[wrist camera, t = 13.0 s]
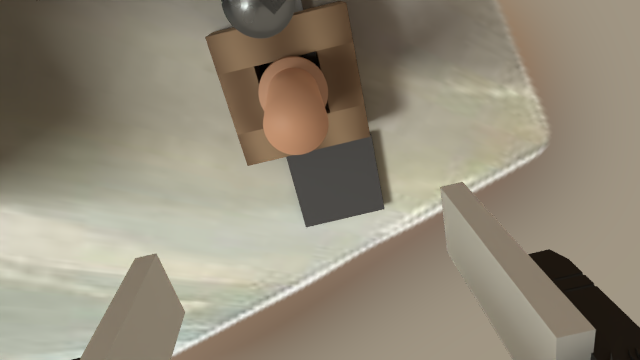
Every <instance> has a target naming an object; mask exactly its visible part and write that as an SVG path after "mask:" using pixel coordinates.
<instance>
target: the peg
mask: <svg viewBox="0 0 640 360" xmlns="http://www.w3.org/2000/svg"><path fill="white" fill-rule="evenodd" d="M258 94H259V101H260V104H261V106H262V108H263V110H264V118H263V129H264V133H265V136H266V138H267V139H268V141H269V142H270V144H271V145H272V146H273V147H275V148H276V149H277V150H279V151H281V152H283V153H286V154H290V155H302V154H306V153H309V152H311V151H313V150H314V149H316V148H317V147H318V146H319V145H320V144H321V143H322V142H323V141H324V139H325V137H326V135H327V132H328V126H329V121H328V115H327V112H326V109H325V106H326V103H327V100H328V86H327V82H326V80H325V77H324V75H323V73H322V72H321V70H320V69H319V68H318V67H317V66H316V65H315V64H314V63H313V62H311V61H310V60H308V59H306V58H303V57H299V56H287V57H283V58H280V59H278V60H276V61H274V62H273V63H272V64H270V65H269V66H268V67H267V69H266V70H265V71H264V73H263V75H262V77H261V80H260V83H259V91H258Z"/></svg>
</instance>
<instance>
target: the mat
mask: <svg viewBox="0 0 640 360" xmlns="http://www.w3.org/2000/svg"><path fill="white" fill-rule="evenodd" d="M287 161H288V165H289V168H290V172H291V175H292V179H293V182H294V186H295V189H296V193H297V196H298V200H299V204H300V207H301V211H302V214H303V218H304V221H305V225H306V227H309V226H314V225H318V224H322V223H327V222H331V221H335V220H339V219H344V218H348V217H352V216H357V215H361V214H365V213H369V212H374V211H378V210H382V209H384V204H383V199H382V193H381V187H380V182H379V176H378V171H377V165H376V159H375V154H374V148H373V142H372V137H371V134H370V137H367V138H363V139H358V140H354V141H350V142H346V143H342V144H337V145H333V146H329V147H325V148H321V149H316V150H313V151H311V152H309V153H306V154H302V155H291V156H287Z"/></svg>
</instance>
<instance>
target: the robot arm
mask: <svg viewBox="0 0 640 360" xmlns="http://www.w3.org/2000/svg"><path fill="white" fill-rule="evenodd" d="M440 189H441V198H442V208H443V217H444V226H445V235H446V245H447V253H448V254H449V256H450V257H451V259H452V261H453V262H454V264H455V265H456V267H457V269H458V271H459V272H460V274H461V276H462V277H463V278H464V280H465V282H466V284H467V285H468V287H469V289H470V290H471V292H472V294H473V295H474V297H475V298H476V300H477V302H478V303H479V305H480V307H481V308H482V310H483V312H484V313H485V315H486V317H487V318H488V320H489V321H490V323H491V325H492V326H493V328H494V330H495V331H496V333H497V335H498V336H499V338H500V340H501V341H502V343H503V345H504V346H505V348H506V350H507V351H508V352H509V354H510V356H511V358H512V359H513V360H640V327H638V326H637V325H636V324H635V323H634V322H633V321H632V320H631V319H630V318H629V317H628V316H627V315H626V314H625V313H624V312H623V311H622V310H621V309H620V308H619V307H618V306H617V305H616V304H615V303H614V302H612V301H611V300H610V299H609V298H608V297H607V296H606V295H605V294H604V293H603V292H602V291H601V290H600V289H599V288H598V287H597V286H594V283H593V282H592V281H591V280H590V279H589V278H588V277H586V275H583V274H582V272H581V271H580V270H579V269H578V268H577V267H576V266H575V265H574V264H573V263H572V262H571V261H570V260H569V259H567V258H565V257H563V256H561V255H559V254H558V253H555V252H553V251H552V250H545V251H540V252H536V253H532V254H527V253H526V252H525V251H524V250H523V248H522V247H521V246H520V245H519V244H518V243H517V242H516V241H515V239H513V237H512V236H511V235H510V234H509V233H508V232H507V231H506V230H505V229H504V228H503V226H502V225H501V224H500V223H499V222H498V221H497V220H496V219H495V217H494V216H493V215H492V214H491V213H490V212H489V211H488V210H487V209H486V207H485V206H484V205H483V204H482V203H481V202H480V201H479V200H478V199H477V197H476V196H475V195H474V194H473V193H472V192H471V191H470V190H469V189H468V187H467V186H466V185H465V184H464V183H463V182H460V183H456V184H451V185H447V186H443V187H440ZM184 314H185V311H184V309H183V307H182V305H181V303H180V301H179V299H178V297H177V295H176V293H175V291H174V288H173V286H172V284H171V282H170V280H169V278H168V276H167V274H166V272H165V270H164V268H163V266H162V264H161V262H160V260H159V258H158V256H157V254H152V255H148V256H144V257H139V258H135V260H134V261H133V263H132V265H131V267H130V269H129V271H128V272H127V274H126V276H125V278H124V280H123V282H122V283H121V285H120V287H119V289H118V291H117V292H116V294H115V296H114V298H113V300H112V302H111V303H110V305H109V307H108V309H107V311H106V313H105V314H104V316H103V318H102V320H101V322H100V324H99V325H98V327H97V329H96V331H95V333H94V335H93V336H92V338H91V340H90V342H89V344H88V345H87V347H86V349H85V351H84V353H83V355H82V356H81V358H77V359H72V360H171V357H172V354H173V350H174V347H175V344H176V340H177V337H178V334H179V331H180V327H181V324H182V321H183V318H184Z"/></svg>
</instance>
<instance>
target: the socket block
mask: <svg viewBox="0 0 640 360" xmlns="http://www.w3.org/2000/svg"><path fill="white" fill-rule="evenodd" d="M205 38H206V41H207V44H208V47H209V50H210V53H211V56H212V59H213V62H214V65H215V68H216V71H217V74H218V77H219V80H220V83H221V86H222V89H223V92H224V95H225V98H226V101H227V104H228V108H229V111H230V114H231V117H232V120H233V123H234V126H235V129H236V132H237V135H238V138H239V141H240V144H241V147H242V150H243V153H244V156H245V159H246V162H247V165H248V166H249V165H253V164H258V163H262V162H266V161H270V160H274V159H279V158H283V157H287V156H291V155H290V154H286V153H283V152H281V151H279V150H277V149H276V148H275V147H273V146H272V145H271V144H270V142H269V141H268V139H267V138H266V136H265V133H264V129H263V118H264V110H263V108H262V106H261V104H260V101H259V94H258V91H259V83H260V80H261V77H262V76H261V73H260V69H259V66H258V65H262V64H266V63H270V62H274V61H276V60H278V59H280V58H283V57H287V56H298V55H303V54H307V53H311V52H316V56H317V61H318V65H319V69H320V70H321V72H322V73H323V75H324V77H325V80H326V82H327V86H328V100H327V103H326V106H325V109H326V112H327V115H328V121H329V126H328V132H327V135H326V137H325V139H324V141H323V142H322V143H321V144H320V145H319V146H318V147H317V148H316V149H321V148H325V147H329V146H333V145H337V144H342V143H346V142H350V141H354V140H358V139H363V138H367V137H370V132H369V127H368V121H367V116H366V110H365V105H364V99H363V93H362V88H361V82H360V77H359V71H358V66H357V60H356V54H355V49H354V43H353V38H352V32H351V27H350V21H349V15H348V10H347V4H346V2H343V1H337V2H333V3H329V4H325V5H321V6H317V7H313V8H309V9H305V10H303V7H302V3H301V0H295V10H294V13H293V16H292V19H291V20H290V22H289V24H288V25H287V26H286V27H285V28H284V29H283V30H282V31H281V32H280V33H278V34H276V35H274V36H272V37H269V38H262V39H260V38H252V37H249V36H246V35H244V34H242V33H241V32H239V31H238V30H237V29H235V28H234V27H232V28H228V29H224V30H220V31H216V32H213V33H211V34H209V35H208V36H206V37H205ZM316 149H314V150H316Z"/></svg>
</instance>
